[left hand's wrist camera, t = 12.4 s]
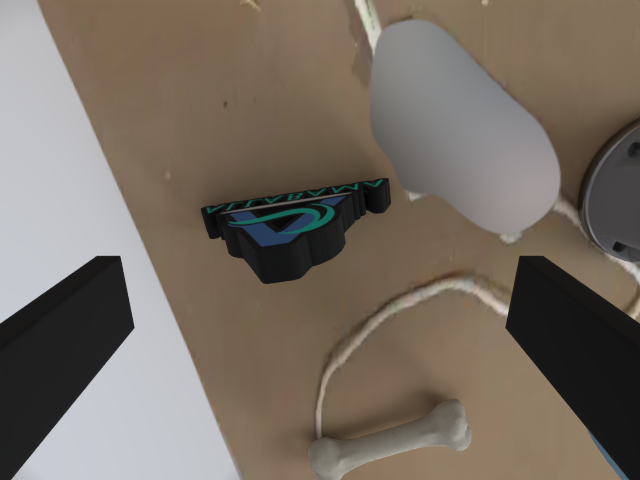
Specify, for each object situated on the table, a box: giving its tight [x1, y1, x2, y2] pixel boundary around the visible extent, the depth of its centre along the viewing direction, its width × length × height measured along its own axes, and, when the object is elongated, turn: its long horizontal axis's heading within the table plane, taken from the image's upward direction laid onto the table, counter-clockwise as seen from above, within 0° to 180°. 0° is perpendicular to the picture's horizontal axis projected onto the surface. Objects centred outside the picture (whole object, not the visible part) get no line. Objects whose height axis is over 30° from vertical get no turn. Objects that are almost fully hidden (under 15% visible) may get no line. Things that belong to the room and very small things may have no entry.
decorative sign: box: [201, 178, 391, 284], centre depth 31 cm, size 19×2×15 cm, turn 99°
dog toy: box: [307, 399, 471, 480], centre depth 47 cm, size 20×6×5 cm, turn 112°
